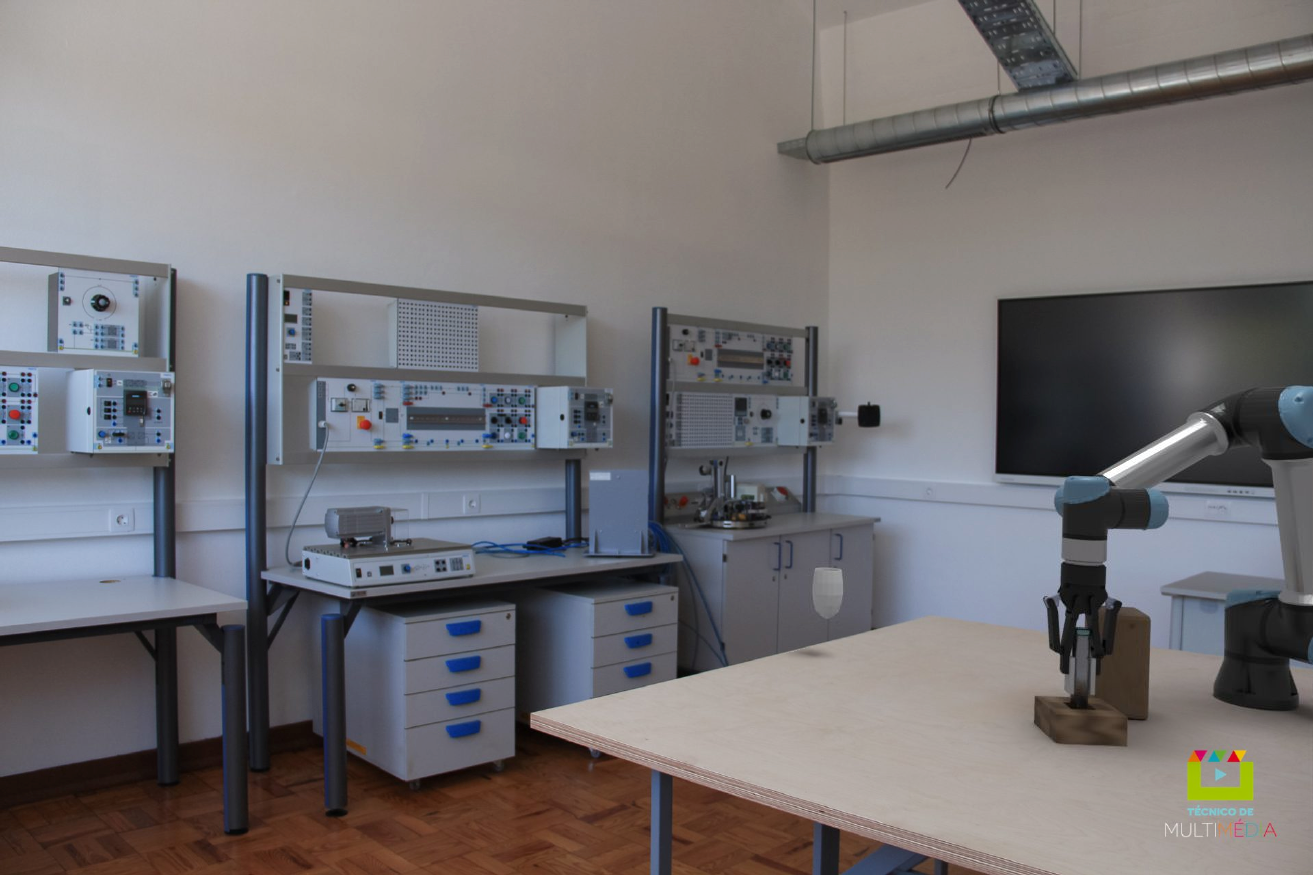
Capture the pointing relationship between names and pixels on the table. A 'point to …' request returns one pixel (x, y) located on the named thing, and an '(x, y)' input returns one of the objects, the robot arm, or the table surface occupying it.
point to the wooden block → (1126, 664)
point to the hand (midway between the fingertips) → (1079, 692)
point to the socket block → (1080, 721)
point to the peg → (1081, 667)
